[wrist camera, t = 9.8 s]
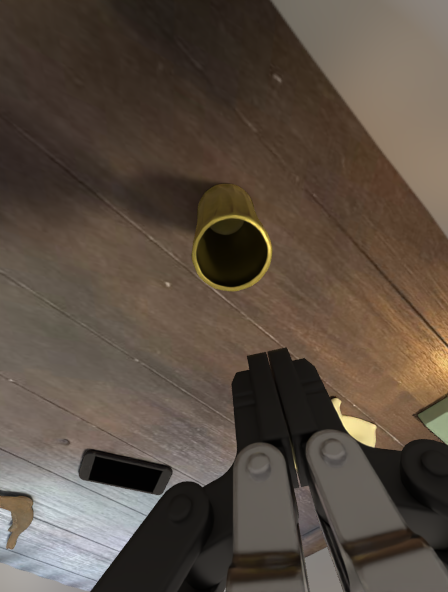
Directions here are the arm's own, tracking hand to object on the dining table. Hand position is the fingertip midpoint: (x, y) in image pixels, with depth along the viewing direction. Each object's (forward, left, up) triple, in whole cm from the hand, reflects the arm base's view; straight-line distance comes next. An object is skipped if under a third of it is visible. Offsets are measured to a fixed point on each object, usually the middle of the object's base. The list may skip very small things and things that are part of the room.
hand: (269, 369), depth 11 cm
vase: (-2, -1, -24) cm, 24 cm away
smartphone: (+37, -27, -24) cm, 52 cm away
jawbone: (+44, -55, -24) cm, 74 cm away
